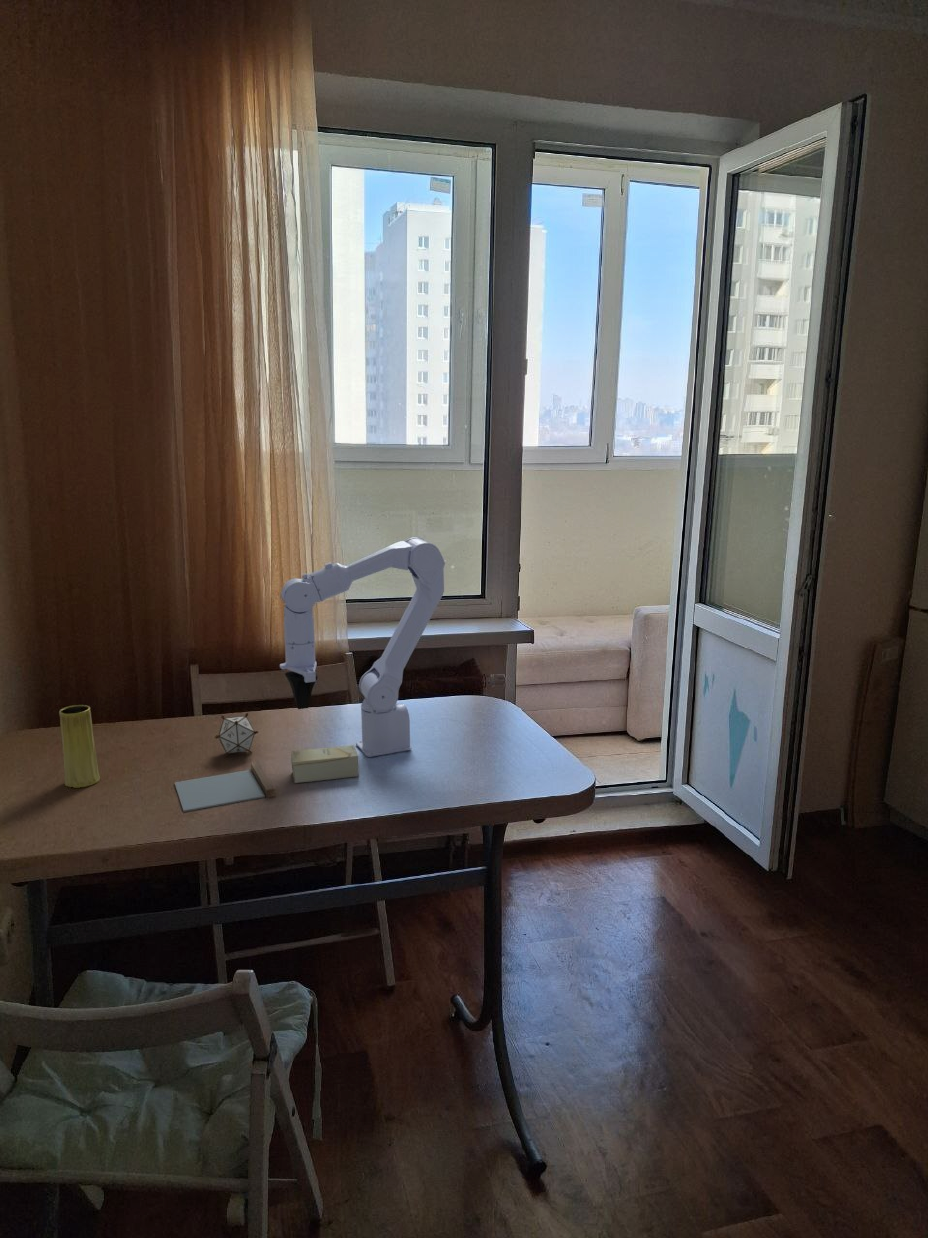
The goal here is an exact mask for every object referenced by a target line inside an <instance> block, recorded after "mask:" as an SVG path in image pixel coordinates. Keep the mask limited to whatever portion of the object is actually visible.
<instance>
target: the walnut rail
mask: <svg viewBox="0 0 928 1238" xmlns="http://www.w3.org/2000/svg"><path fill="white" fill-rule="evenodd" d="M250 768H251V769H250V770H251V772H252V773H253V775H254V777H255V779H256V781H257V782H258V784H259V786H260V788H261V790H262V791H263V793H264V795H265V798H266V799H270V798H273V797H276V789H275V787H274V785H273V783H272V781H271V779H270V778H269V776H268V774H267V773H266V771H265V770H264V768H263V767H262V765H261V763H260V762H259V761H253V762H250Z"/></svg>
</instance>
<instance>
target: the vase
mask: <svg viewBox="0 0 928 1238" xmlns="http://www.w3.org/2000/svg"><path fill="white" fill-rule="evenodd" d="M58 715H59V723H60V724H59V725H60V732H61V733H60V734H61V740H62V741H61V743H62V752H63V753H62V755H63V766H64V767H63V768H64V785H65V786H66V787H67V786H68V787H67V788H71V787H73V789H79V788H80V787H82V788H87V787H90V786H93V785H95V784H96V783H98V782H99V781H100V779H101V775H100V774H99V773H100V772H99V765H98V760H97V759H98V757H97V751H96V747H95V746H96V745H95V737H94V730H93V729H94V728H93V720H92V712H91V707H90V705H86V704H85V705H84V704H78V705H77V704H76V705H69V706H65V707H62V708H61V709H59V711H58ZM80 789H81V788H80Z"/></svg>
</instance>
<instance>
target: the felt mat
mask: <svg viewBox="0 0 928 1238" xmlns="http://www.w3.org/2000/svg"><path fill="white" fill-rule="evenodd" d="M174 787H175V789H176V793H177V796H178V798H179V802H180V805H181V808H182V811H183V812H184V813H185V812H192V811H195V810H196V811H197V810H201V809H207V808H213V807H219V806H223V805H229V804H234V803H235V804H236V803H240V802H247V801H250V800H251V801H252V800H257V799H258V800H259V799H261V798H266V795H265V794H264V792H263V790H262V788H261V787H260V785H259V783H258V781H257V779H256V778H255V776H254V774H253V772H252V770H251V769H247V770H240V771H235V772H229V773H223V774H222V773H221V774H217V775H212V776H206V777H199V778H194V779H193V778H192V779H187V780H182V781H175V782H174Z"/></svg>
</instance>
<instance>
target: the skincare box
mask: <svg viewBox="0 0 928 1238" xmlns="http://www.w3.org/2000/svg"><path fill="white" fill-rule="evenodd" d="M290 753H291V755H290V756H291V758H290V759H291V760H290V763H291V770H292V777H293V781H294V784H299V783H309V782H319V781H328V780H338V779H339V780H340V779H346V778H355V777H360V770H359V769H360V766H359V764H360V763H359V754H358V752H357V750H356V747H355V745H354V744H351V745H344V746H332V747H331V746H330V747H322V748H312V749H310V748H309V749H302V750H301V749H300V750H293V751H292V750H291V752H290Z"/></svg>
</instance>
